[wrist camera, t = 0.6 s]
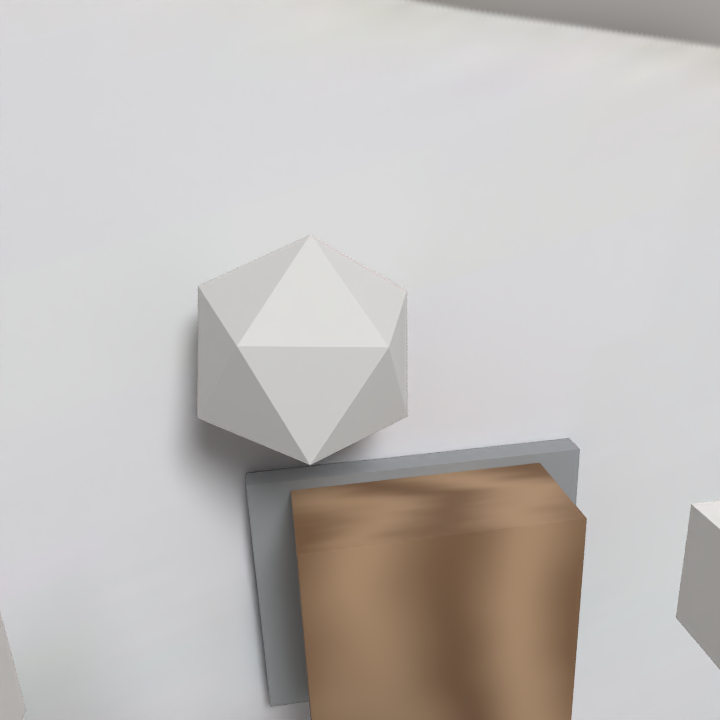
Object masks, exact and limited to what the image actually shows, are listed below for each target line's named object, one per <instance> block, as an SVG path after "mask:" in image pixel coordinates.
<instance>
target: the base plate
mask: <svg viewBox="0 0 720 720" xmlns="http://www.w3.org/2000/svg"><path fill="white" fill-rule="evenodd" d="M579 453H580V449H579V448H578V447H577V446H576V445H575V444H574V443H573V442H572V441H571V440H570V439H569V438H567V439H558V440H549V441H539V442H530V443H521V444H512V445H502V446H493V447H484V448H475V449H465V450H456V451H447V452H437V453H428V454H419V455H410V456H400V457H391V458H382V459H373V460H363V461H354V462H345V463H335V464H326V465H317V466H308V467H298V468H289V469H280V470H271V471H261V472H252V473H246V491H247V499H248V508H249V517H250V526H251V535H252V544H253V553H254V562H255V571H256V580H257V589H258V598H259V607H260V616H261V625H262V634H263V643H264V652H265V661H266V670H267V679H268V688H269V697H270V706H271V707H272V706H279V705H286V704H292V703H299V702H306V701H309V694H308V682H307V671H306V659H305V648H304V637H303V625H302V614H301V602H300V591H299V579H298V568H297V556H296V545H295V533H294V522H293V510H292V499H291V490H299V489H308V488H317V487H326V486H335V485H344V484H353V483H362V482H371V481H380V480H389V479H398V478H407V477H416V476H425V475H434V474H443V473H452V472H460V471H469V470H478V469H487V468H496V467H505V466H514V465H523V464H532V463H540V464H541V465H542V466H543V467H544V468H545V470H546V471H547V472H548V473H549V474H550V475H551V477H552V478H553V479H554V480H555V481H556V483H557V484H558V485H559V486H560V487H561V489H562V490H563V491H564V492H565V493H566V495H567V496H568V497H569V498H570V499H571V501H572V502H573V503H574V504H575V505H576V495H577V481H578V467H579Z"/></svg>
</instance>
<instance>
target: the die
mask: <svg viewBox="0 0 720 720" xmlns="http://www.w3.org/2000/svg"><path fill="white" fill-rule="evenodd" d="M407 416H408V405H407V290H406V289H404V288H403V287H401V286H399V285H397V284H396V283H394V282H392V281H390V280H389V279H387V278H385V277H383V276H382V275H380V274H378V273H376V272H375V271H373V270H371V269H370V268H368V267H366V266H364V265H363V264H361V263H359V262H357V261H356V260H354V259H352V258H350V257H349V256H347V255H345V254H343V253H342V252H340V251H338V250H336V249H335V248H333V247H331V246H329V245H328V244H326V243H324V242H323V241H321V240H319V239H317V238H316V237H314V236H312V235H308V236H306V237H304V238H302V239H300V240H298V241H295V242H293V243H291V244H289V245H287V246H284V247H282V248H280V249H278V250H276V251H273V252H271V253H269V254H267V255H265V256H262V257H260V258H258V259H256V260H254V261H252V262H249V263H247V264H245V265H243V266H241V267H238V268H236V269H234V270H232V271H230V272H227V273H225V274H223V275H221V276H219V277H217V278H214V279H212V280H210V281H208V282H206V283H203V284H201V285H199V286H198V387H197V418H198V419H200V420H203V421H205V422H208V423H210V424H212V425H215V426H217V427H220V428H222V429H224V430H227V431H229V432H232V433H234V434H237V435H239V436H241V437H244V438H246V439H249V440H251V441H253V442H256V443H258V444H261V445H263V446H265V447H268V448H270V449H273V450H275V451H277V452H280V453H282V454H285V455H287V456H290V457H292V458H294V459H297V460H299V461H302V462H304V463H306V464H309V465H311V464H313V463H315V462H317V461H319V460H321V459H323V458H325V457H327V456H329V455H331V454H333V453H335V452H337V451H339V450H341V449H343V448H345V447H347V446H349V445H351V444H353V443H355V442H357V441H359V440H361V439H363V438H365V437H367V436H369V435H371V434H373V433H375V432H377V431H379V430H381V429H383V428H385V427H387V426H389V425H391V424H393V423H395V422H397V421H399V420H401V419H403V418H405V417H407Z"/></svg>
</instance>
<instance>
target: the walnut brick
mask: <svg viewBox="0 0 720 720" xmlns="http://www.w3.org/2000/svg"><path fill="white" fill-rule="evenodd" d="M291 499H292V510H293V522H294V533H295V545H296V556H297V568H298V579H299V591H300V602H301V614H302V625H303V637H304V648H305V659H306V671H307V682H308V694H309V704H310V715H311V720H571V715H572V702H573V689H574V676H575V663H576V650H577V637H578V624H579V611H580V598H581V585H582V572H583V559H584V546H585V533H586V520H587V518H586V517H585V516H584V515H583V514H582V512H581V511H580V510H579V509H578V508H577V506H576V505H575V504H574V503H573V502H572V501H571V499H570V498H569V497H568V496H567V495H566V493H565V492H564V491H563V490H562V489H561V487H560V486H559V485H558V484H557V483H556V481H555V480H554V479H553V478H552V477H551V475H550V474H549V473H548V472H547V471H546V470H545V468H544V467H543V466H542V465H541V464H540V463H532V464H523V465H514V466H505V467H496V468H487V469H478V470H469V471H460V472H452V473H443V474H434V475H425V476H416V477H407V478H398V479H389V480H380V481H371V482H362V483H353V484H344V485H335V486H326V487H317V488H308V489H299V490H291Z"/></svg>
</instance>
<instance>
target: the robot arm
mask: <svg viewBox="0 0 720 720" xmlns="http://www.w3.org/2000/svg"><path fill="white" fill-rule="evenodd" d="M676 618H677V620H678V621H679V622H680V623H681V624H682V625H683V627H684V628H685V629H686V630H687V631H688V632H689V634H690V635H691V636H692V637H693V638H694V640H695V641H696V642H697V643H698V644H699V645H700V647H701V648H702V649H703V650H704V651H705V653H706V654H707V655H708V656H709V657H710V658H711V660H712V661H713V662H714V663H715V664H716V665H717V667H718V668H719V669H720V501H712V502H704V503H696V504H691V510H690V518H689V525H688V532H687V540H686V547H685V554H684V562H683V569H682V576H681V584H680V591H679V599H678V606H677V613H676ZM25 712H26V708H25V704H24V700H23V696H22V692H21V689H20V685H19V681H18V677H17V673H16V670H15V666H14V662H13V658H12V654H11V651H10V647H9V643H8V639H7V636H6V632H5V628H4V624H3V620H2V617H1V613H0V720H22V719H23V717H24V714H25Z"/></svg>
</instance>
